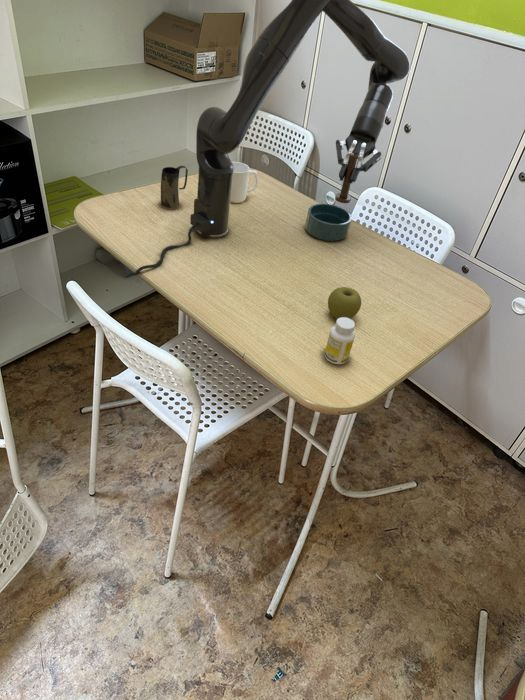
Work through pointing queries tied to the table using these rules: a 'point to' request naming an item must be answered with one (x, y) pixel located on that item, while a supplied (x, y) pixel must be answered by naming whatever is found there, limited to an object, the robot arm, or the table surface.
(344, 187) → the brown rod with base
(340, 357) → the supplement bottle
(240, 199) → the cup
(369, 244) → the table surface
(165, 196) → the mug
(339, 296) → the apple
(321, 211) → the bowl
